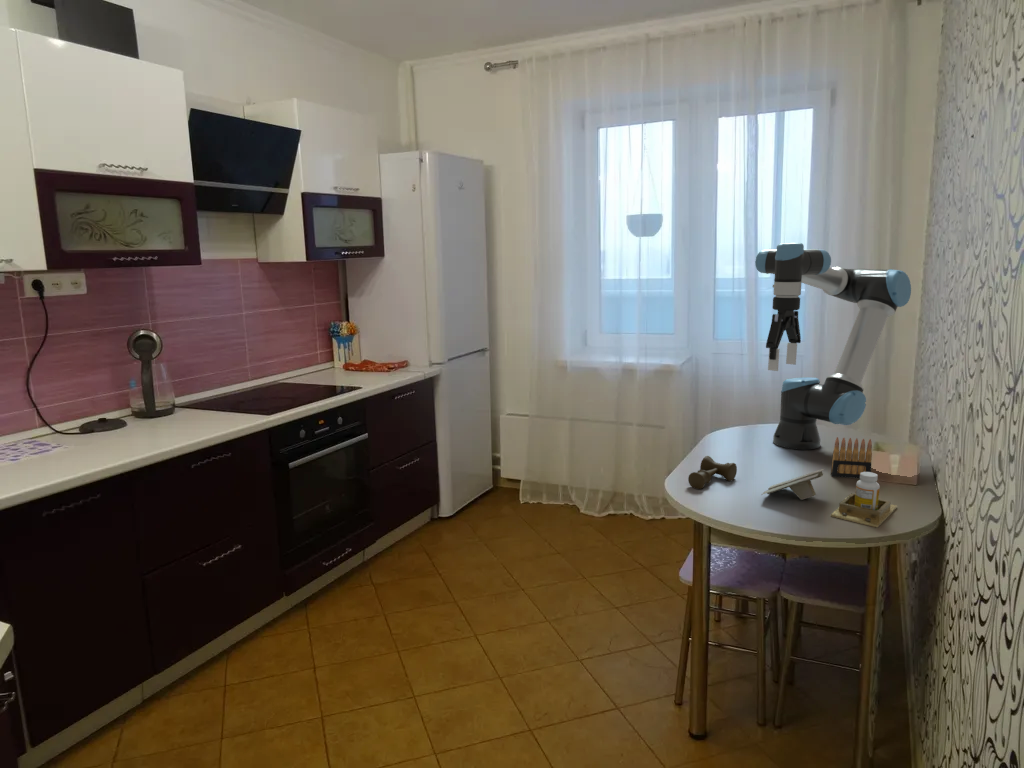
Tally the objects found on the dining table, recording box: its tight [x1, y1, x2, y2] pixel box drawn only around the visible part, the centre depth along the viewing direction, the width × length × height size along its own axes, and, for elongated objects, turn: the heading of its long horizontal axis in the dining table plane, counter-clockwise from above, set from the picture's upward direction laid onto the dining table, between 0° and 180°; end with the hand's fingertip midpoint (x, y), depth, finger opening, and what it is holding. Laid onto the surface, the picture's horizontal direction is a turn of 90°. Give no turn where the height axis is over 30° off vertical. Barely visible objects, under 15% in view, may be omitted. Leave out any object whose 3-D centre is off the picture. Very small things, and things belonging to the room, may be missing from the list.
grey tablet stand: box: [761, 468, 824, 501], centre depth 189 cm, size 16×9×15 cm
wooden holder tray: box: [830, 492, 898, 528], centre depth 179 cm, size 17×11×3 cm, turn 137°
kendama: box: [687, 455, 738, 490], centre depth 205 cm, size 6×10×20 cm
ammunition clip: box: [830, 437, 873, 479], centre depth 205 cm, size 11×2×12 cm, turn 74°
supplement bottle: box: [854, 471, 881, 511], centre depth 178 cm, size 5×5×10 cm
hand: (782, 367), depth 209 cm, fingers open, 13 cm apart
